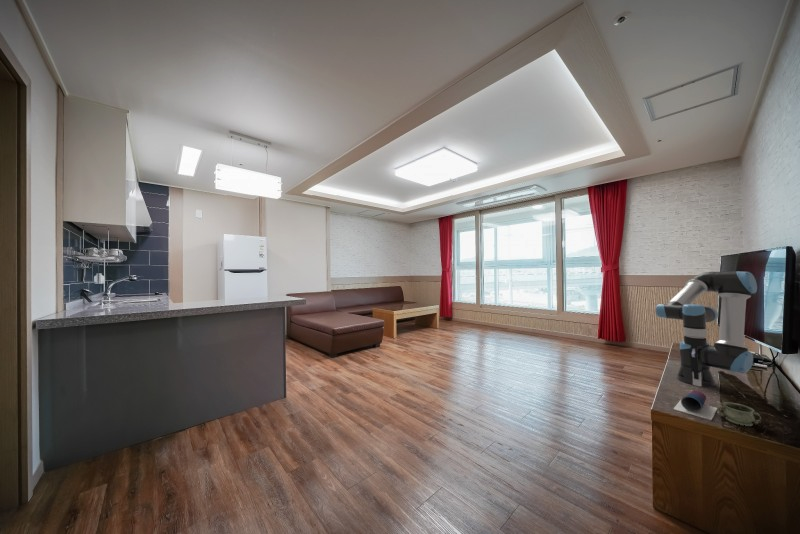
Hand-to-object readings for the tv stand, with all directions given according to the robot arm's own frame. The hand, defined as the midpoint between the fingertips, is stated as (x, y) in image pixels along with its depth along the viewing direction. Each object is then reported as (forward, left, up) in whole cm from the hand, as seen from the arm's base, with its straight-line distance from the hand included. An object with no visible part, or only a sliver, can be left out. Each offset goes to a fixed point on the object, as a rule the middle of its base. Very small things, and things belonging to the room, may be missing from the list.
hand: (697, 385), depth 134 cm
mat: (+7, 0, -9) cm, 12 cm away
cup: (-3, 0, -6) cm, 7 cm away
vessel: (+7, +13, -10) cm, 18 cm away
